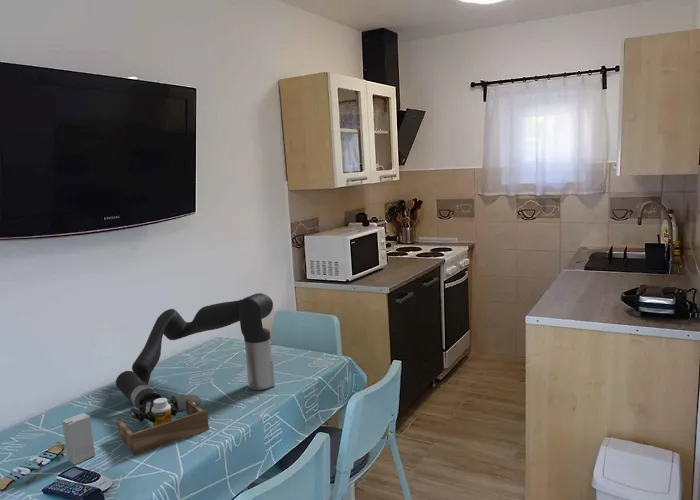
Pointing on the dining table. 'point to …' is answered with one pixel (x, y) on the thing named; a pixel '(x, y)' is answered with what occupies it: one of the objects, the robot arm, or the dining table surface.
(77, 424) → the skincare box
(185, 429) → the brown wooden u-shaped piece
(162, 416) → the supplement bottle
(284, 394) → the dining table surface
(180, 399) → the slate pad
